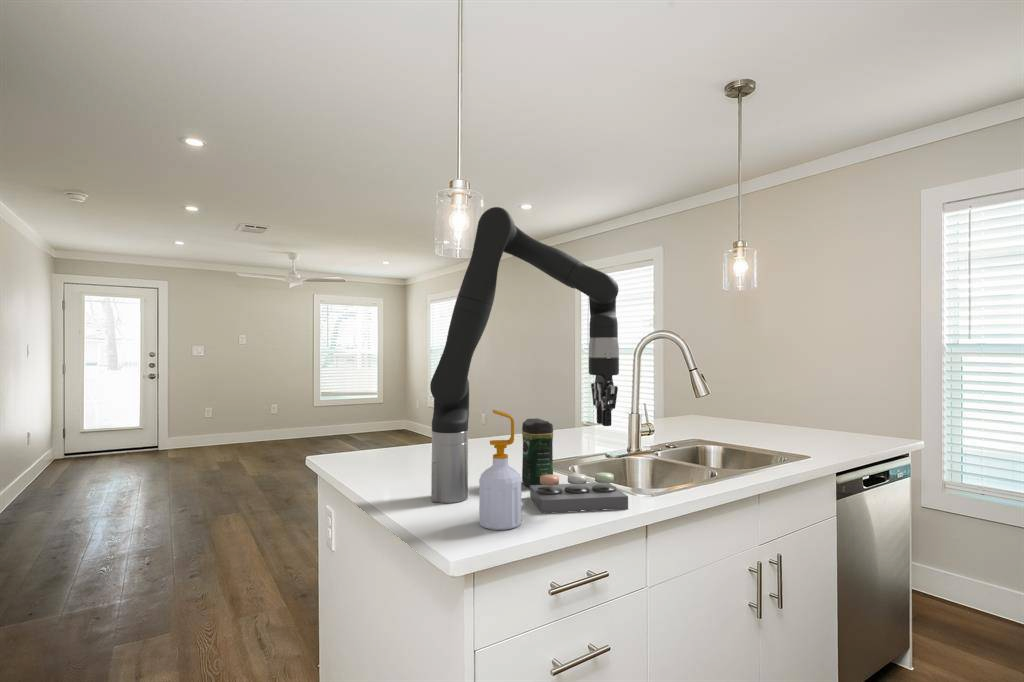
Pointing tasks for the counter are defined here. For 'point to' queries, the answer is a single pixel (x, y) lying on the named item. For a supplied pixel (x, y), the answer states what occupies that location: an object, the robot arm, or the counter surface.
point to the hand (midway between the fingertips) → (603, 424)
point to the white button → (577, 478)
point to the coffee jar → (536, 450)
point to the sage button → (604, 477)
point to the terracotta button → (549, 480)
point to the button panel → (577, 497)
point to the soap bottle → (500, 489)
